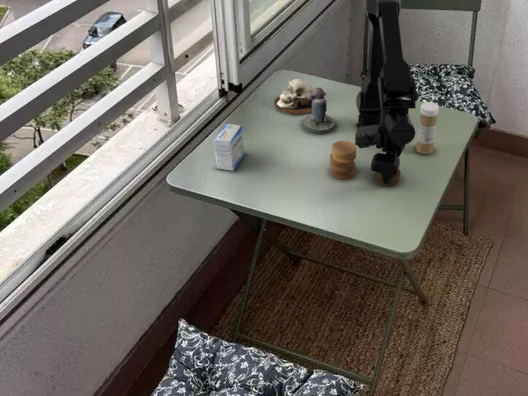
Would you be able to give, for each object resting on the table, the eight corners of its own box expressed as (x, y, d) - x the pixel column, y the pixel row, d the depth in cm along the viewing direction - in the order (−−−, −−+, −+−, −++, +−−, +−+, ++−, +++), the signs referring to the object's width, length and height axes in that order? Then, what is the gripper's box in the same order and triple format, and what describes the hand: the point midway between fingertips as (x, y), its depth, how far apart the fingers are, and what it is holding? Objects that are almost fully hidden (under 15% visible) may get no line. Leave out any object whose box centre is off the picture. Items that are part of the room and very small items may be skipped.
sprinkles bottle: (432, 145, 182) (437, 101, 173) (433, 155, 178) (439, 110, 170) (414, 145, 181) (419, 100, 173) (416, 155, 178) (421, 110, 170)
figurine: (321, 137, 182) (321, 98, 175) (296, 126, 186) (296, 87, 179) (340, 125, 188) (341, 86, 180) (316, 114, 191) (317, 76, 184)
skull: (282, 117, 187) (273, 80, 188) (276, 124, 197) (267, 90, 197) (324, 108, 191) (315, 73, 191) (315, 116, 201) (306, 83, 201)
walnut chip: (390, 170, 172) (391, 162, 170) (404, 182, 168) (405, 174, 166) (370, 177, 169) (371, 168, 167) (384, 189, 165) (385, 181, 163)
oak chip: (347, 146, 170) (347, 138, 169) (360, 158, 166) (361, 149, 165) (326, 153, 167) (327, 144, 166) (339, 165, 163) (340, 156, 162)
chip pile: (346, 162, 173) (347, 146, 170) (359, 175, 169) (360, 158, 166) (325, 170, 170) (325, 153, 167) (338, 182, 166) (338, 165, 163)
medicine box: (233, 171, 168) (231, 142, 162) (216, 168, 168) (213, 139, 163) (244, 154, 174) (242, 125, 169) (227, 151, 175) (225, 122, 169)
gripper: (366, 97, 167) (363, 151, 176) (350, 137, 152) (347, 193, 161) (411, 104, 165) (406, 157, 175) (399, 144, 151) (394, 200, 160)
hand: (388, 176), depth 168 cm, fingers closed on walnut chip, 6 cm apart
